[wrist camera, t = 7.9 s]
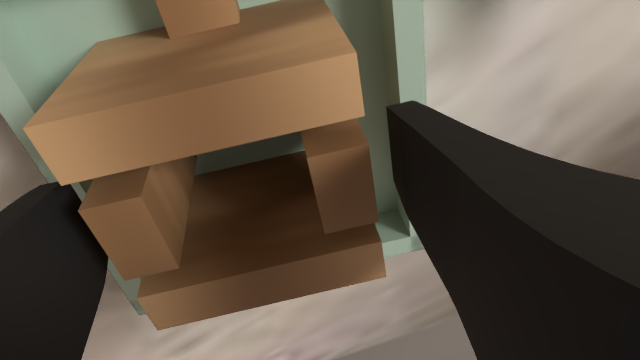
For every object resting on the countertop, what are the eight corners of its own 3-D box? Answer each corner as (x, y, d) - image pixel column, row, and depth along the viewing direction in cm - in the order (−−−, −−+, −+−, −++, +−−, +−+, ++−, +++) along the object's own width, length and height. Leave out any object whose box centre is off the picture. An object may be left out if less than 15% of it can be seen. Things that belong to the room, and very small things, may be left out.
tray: (388, -159, 10) (416, -166, 8) (413, 209, 16) (431, 246, 15) (-51, -62, 10) (-110, -48, 8) (149, 271, 16) (139, 315, 15)
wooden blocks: (306, -78, 10) (343, -48, 6) (349, 172, 14) (386, 276, 10) (65, -23, 10) (-39, 37, 6) (179, 211, 14) (157, 330, 10)
